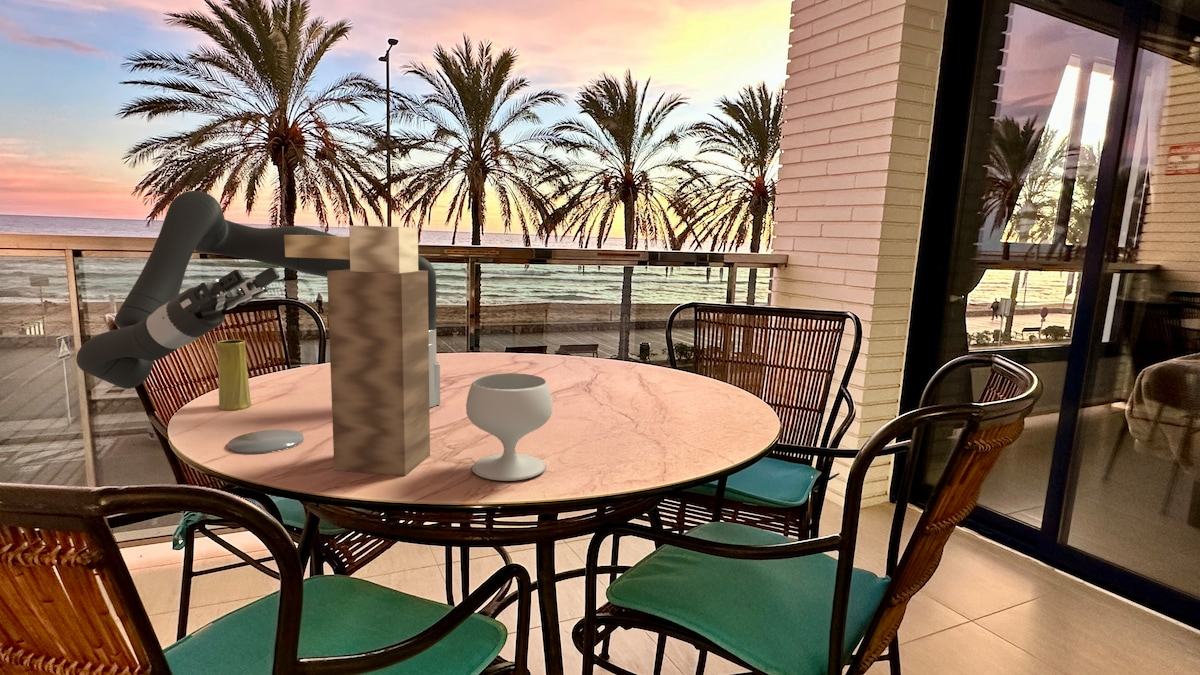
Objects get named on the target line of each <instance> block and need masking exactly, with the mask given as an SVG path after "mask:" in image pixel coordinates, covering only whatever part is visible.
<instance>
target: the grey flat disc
mask: <svg viewBox="0 0 1200 675" xmlns="http://www.w3.org/2000/svg"><path fill="white" fill-rule="evenodd" d="M301 442H302V443H303V442H304V434H303V433H302V432H300V431H298V430H293V429H280V428H279V429H267V430H265V429H264V430H257V431H253V432H248V433H245V434H244V433H243V434H240V435H238V436H235V437H233V438H232V439H231V440H229V441H228V444H227V446H228V450H230V451H231V452H234V453H237V454H244V455H245V454H246V455H247V454H248V455H258V454H257V453H261V454H266V453H265V452H271V453H273V452H272V451H277V452H279V451H278V450H282V451H284V450H283V449H286V448H289V449H291V448H290V447H292V448H294V447H293V446H295V445H297V446H299V445H300V444H302V443H301ZM299 443H300V444H299ZM298 444H299V445H298ZM295 447H296V446H295ZM286 450H287V449H286Z"/></svg>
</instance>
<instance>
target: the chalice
mask: <svg viewBox="0 0 1200 675" xmlns="http://www.w3.org/2000/svg"><path fill="white" fill-rule="evenodd" d="M465 404H466V405H465V407H466V410H465V411H466V416H467V418H468V419H469V421H470V422H471V423H472V425H473V426H475V427H477V428H478V429H479V430H481V431H484V432H486V433H488V434H491V435H492V436H494V437H496V438H497V439H498V440H499V441H500V443H501V444H502V446H503V452H502V453H500V454H494V455H489V456H486V457H483V458H481V459H478V460H477V461H475V462H474V463H473V465H472V467H471V470H472V472H473V473H474V474H475V475H477V476H478V477H480V478H483V479H486V480H492V481H501V482H502V481H504V482H509V481H510V482H511V481H512V482H513V481H522V480H523V481H524V480H527V479H532V478H535V477H538V476H539V475H541V474H542V473H544V472H545V471H546V470H547V464H546V463H545V462H544V460H542V459H541V458H538V457H536V456H533V455H529V454H521V453H516V447H517V444H518V442H519V441H520V440H521V439H522V438H523V437H525V436H526V435H528V434H530V433H532V432H534V431H536V430H538V429H541V427H543V426H544V425H545V424H547V422H548V421H550V419H551V416H552V414H553V407H554V403H553V396H552V392H551V388H550V386H549V385H548V382H547V381H546V379H545V378H543V377H541V376H538V375H535V374H528V373H516V372H515V373H514V372H513V373H512V372H511V373H506V372H505V373H493V374H487V375H482V376H479V377H477V378H475V379H474V380H473V381H472V384H471V385H470V388H469V390H468V394H467V396H466V403H465Z"/></svg>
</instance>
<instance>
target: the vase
mask: <svg viewBox="0 0 1200 675" xmlns="http://www.w3.org/2000/svg"><path fill="white" fill-rule="evenodd" d="M216 353H217V362H218V363H217V364H218V371H217V372H218V409H219V410H220V411H221V410H222V411H237V410H238V411H240V410H245V409H247V408H250V407H251V406H252V402H251V401H252V400H251V393H250V385H249V384H250V381H249V374H248V372H249V371H248V363H247V349H246V340H244V339H224V340H218V341H217V342H216ZM244 408H245V409H244ZM239 409H240V410H239Z"/></svg>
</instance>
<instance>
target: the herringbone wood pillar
mask: <svg viewBox="0 0 1200 675" xmlns="http://www.w3.org/2000/svg"><path fill="white" fill-rule="evenodd" d="M326 279H327V281H326V282H327V283H326V284H327V285H326V286H327V305H328V306H327V308H328V332H329V334H328V335H329V357H330V358H329V362H330V388H331V391H330V392H331V416H332V417H331V418H332V419H331V420H332V445H333V468H334V469H333V470H334V471H337V472H338V471H339V472H349V473H350V472H352V473H353V472H354V473H361V474H362V473H364V474H374V475H375V474H377V475H378V474H379V475H387V476H388V475H389V476H400V477H402V476H403V477H406V476H408V474H410V473H411V472H412V471H413V470H414V469H415V468H417V467H418V466H419V465H420V464H421V463H422V462H424V461H425V460H426V459H427V458H428V457H429V456H431V436H430V435H431V434H430V433H431V429H430V428H431V427H430V426H431V425H430V423H431V422H430V418H431V417H430V414H431V413H430V408H429V327H428V271H420V270H418V271H414V272H405V273H383V272H357V271H350V269H344V270H333V271H327V277H326Z"/></svg>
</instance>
